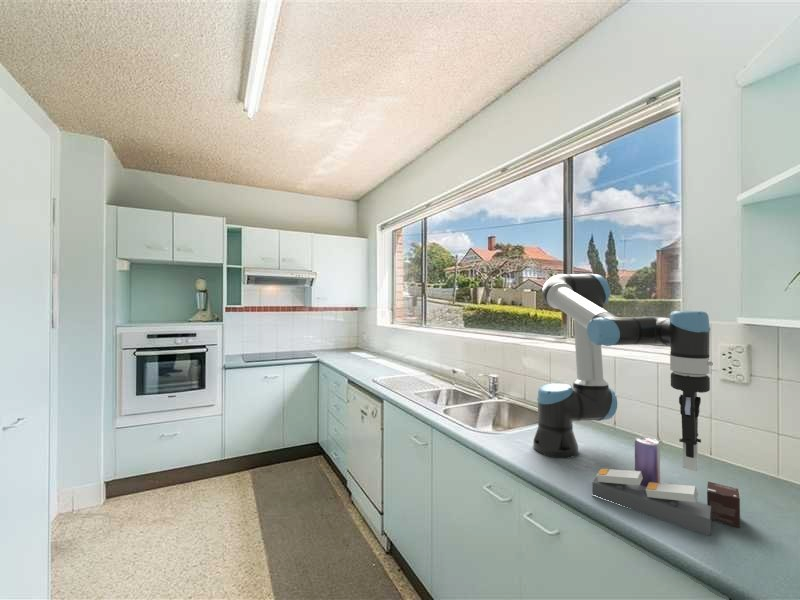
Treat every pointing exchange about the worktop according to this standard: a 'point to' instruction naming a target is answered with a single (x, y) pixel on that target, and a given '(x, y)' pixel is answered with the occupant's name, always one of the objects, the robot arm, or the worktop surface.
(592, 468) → the worktop surface
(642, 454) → the beverage can
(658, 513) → the switch panel
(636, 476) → the block
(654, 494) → the rocker right
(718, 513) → the box
